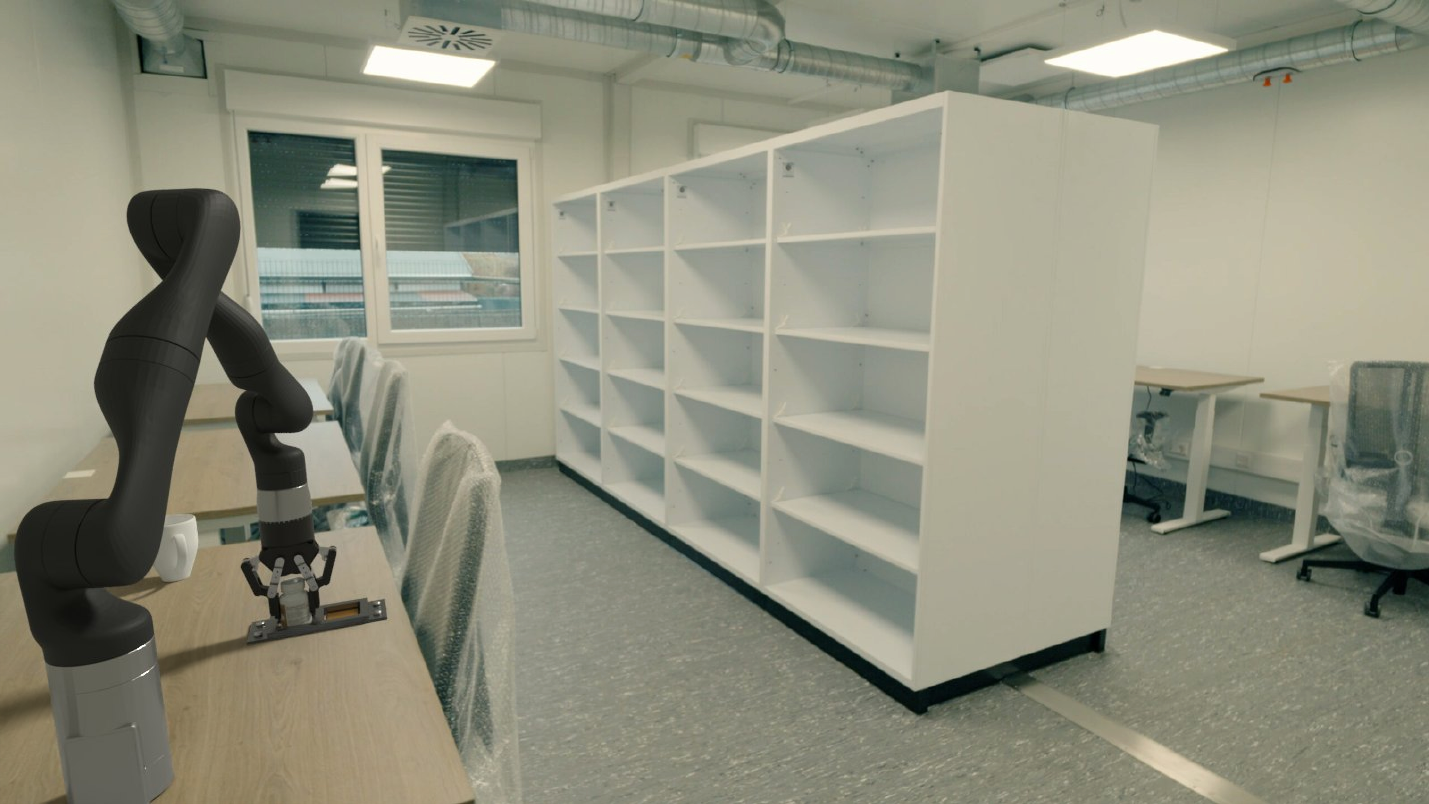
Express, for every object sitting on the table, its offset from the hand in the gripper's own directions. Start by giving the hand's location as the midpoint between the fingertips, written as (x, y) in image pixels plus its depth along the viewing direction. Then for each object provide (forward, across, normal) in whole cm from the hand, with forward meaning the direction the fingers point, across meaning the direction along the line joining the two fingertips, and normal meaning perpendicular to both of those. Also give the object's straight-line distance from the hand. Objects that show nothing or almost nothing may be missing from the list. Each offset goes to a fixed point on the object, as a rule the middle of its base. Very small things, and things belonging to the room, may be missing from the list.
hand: (296, 613), depth 124 cm
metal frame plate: (+2, +3, 0) cm, 4 cm away
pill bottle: (+2, 0, 0) cm, 2 cm away
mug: (+2, -21, +32) cm, 38 cm away
